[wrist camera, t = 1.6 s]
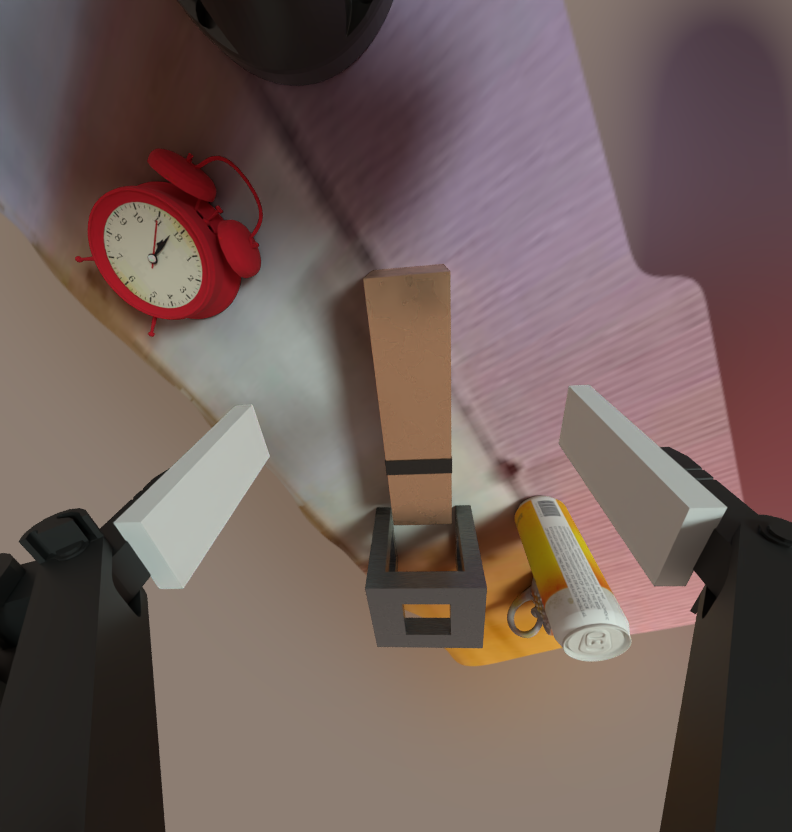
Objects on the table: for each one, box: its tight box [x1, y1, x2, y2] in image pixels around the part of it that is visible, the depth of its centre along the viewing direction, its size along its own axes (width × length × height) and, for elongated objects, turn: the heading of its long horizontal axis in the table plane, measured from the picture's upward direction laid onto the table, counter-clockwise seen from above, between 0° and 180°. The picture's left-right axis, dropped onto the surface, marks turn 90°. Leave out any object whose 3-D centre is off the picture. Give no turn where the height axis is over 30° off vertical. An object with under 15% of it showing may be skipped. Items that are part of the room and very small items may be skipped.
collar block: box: [365, 505, 487, 648], centre depth 39 cm, size 10×12×11 cm
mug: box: [507, 577, 553, 638], centre depth 44 cm, size 12×7×7 cm, turn 129°
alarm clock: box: [75, 149, 263, 337], centre depth 26 cm, size 10×6×15 cm
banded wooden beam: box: [363, 264, 452, 525], centre depth 31 cm, size 24×6×6 cm, turn 5°
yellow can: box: [515, 496, 631, 661], centre depth 34 cm, size 6×6×15 cm
